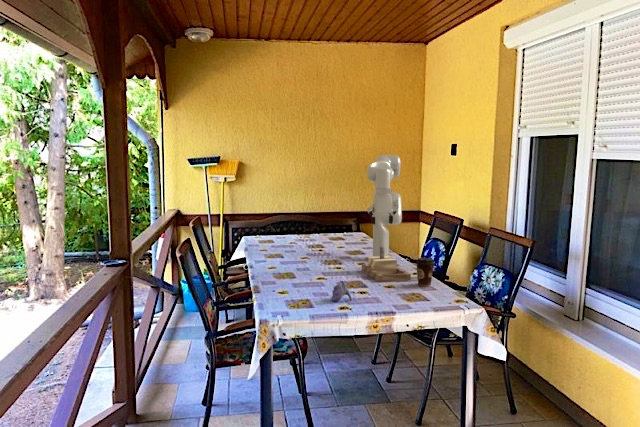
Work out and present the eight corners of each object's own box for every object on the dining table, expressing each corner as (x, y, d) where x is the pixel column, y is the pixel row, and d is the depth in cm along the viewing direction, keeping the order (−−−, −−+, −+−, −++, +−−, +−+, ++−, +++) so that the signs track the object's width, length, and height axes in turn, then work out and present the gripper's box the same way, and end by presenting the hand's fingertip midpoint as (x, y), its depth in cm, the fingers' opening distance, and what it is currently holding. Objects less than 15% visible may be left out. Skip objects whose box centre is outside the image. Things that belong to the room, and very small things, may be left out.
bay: (361, 270, 266) (361, 264, 266) (390, 269, 270) (390, 263, 270) (378, 282, 241) (378, 275, 240) (410, 280, 245) (410, 274, 245)
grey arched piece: (355, 283, 213) (335, 274, 210) (357, 295, 205) (337, 287, 203) (344, 297, 217) (324, 289, 214) (346, 310, 209) (326, 302, 206)
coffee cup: (419, 287, 231) (420, 261, 229) (412, 283, 239) (412, 257, 237) (436, 286, 233) (437, 260, 232) (428, 282, 241) (429, 256, 240)
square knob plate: (367, 269, 264) (367, 245, 263) (387, 268, 267) (388, 245, 266) (375, 274, 253) (375, 249, 251) (396, 273, 256) (397, 248, 254)
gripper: (395, 190, 262) (394, 222, 265) (364, 191, 258) (364, 223, 260) (401, 192, 255) (400, 224, 257) (369, 192, 251) (369, 225, 253)
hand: (382, 223), depth 259 cm, fingers open, 9 cm apart
